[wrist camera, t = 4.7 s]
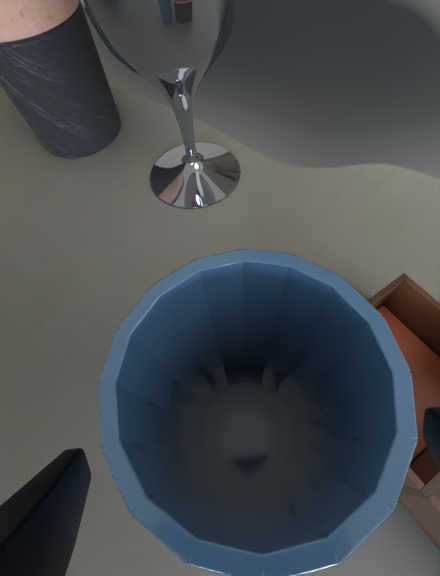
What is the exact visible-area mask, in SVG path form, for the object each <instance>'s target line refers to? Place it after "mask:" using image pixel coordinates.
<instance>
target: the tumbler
mask: <svg viewBox="0 0 440 576" xmlns="http://www.w3.org/2000/svg"><path fill="white" fill-rule="evenodd" d="M98 389H99V415H100V441H101V448H102V453H103V455H104V458H105V460H106V462H107V464H108V466H109V469H110V471H111V473H112V475H113V477H114V480H115V482H116V484H117V486H118V488H119V491H120V493H121V495H122V497H123V499H124V502H125V504H126V506H127V508H128V510H129V512H130V513H132V516H133V517H134V518H135V519H136V520H137V521H138V522H139V523H141V524H142V525H143V526H144V527H145V528H146V529H147V530H148V531H150V532H151V533H152V534H153V535H154V536H155V537H156V538H158V539H159V540H160V541H161V542H162V543H163V544H164V545H166V546H167V547H168V548H169V549H170V550H171V551H172V552H174V553H175V554H176V555H177V556H178V557H179V558H180V559H182V560H183V561H184V562H185V563H187V564H188V563H189V565H190V566H193V567H197V568H201V569H205V570H209V571H213V572H217V573H220V574H224V575H228V576H298V575H302V574H306V573H309V572H313V571H317V570H320V569H324V568H328V567H332V566H335V565H338V564H339V562H340V563H341V562H343V561H344V560H345V559H346V558H347V557H348V556H349V555H350V554H351V553H352V552H353V551H354V550H355V549H356V548H357V547H358V546H359V545H360V544H361V543H362V542H363V541H364V540H365V539H366V538H367V537H368V536H369V535H370V534H371V533H372V532H373V531H374V530H375V529H376V528H377V527H379V526H380V525H381V524H382V523H383V522H384V521H385V520H386V519H387V518H388V517H389V516H390V515H391V514H392V513H393V511H394V510H393V509H395V508H396V505H397V502H398V499H399V496H400V493H401V490H402V487H403V484H404V481H405V478H406V475H407V472H408V469H409V466H410V463H411V460H412V457H413V454H414V451H415V448H416V445H417V439H418V434H417V424H416V414H415V403H414V393H413V383H412V374H411V373H410V368H409V366H408V364H407V362H406V360H405V358H404V356H403V354H402V352H401V350H400V349H399V347H398V345H397V343H396V341H395V339H394V337H393V335H392V333H391V331H390V329H389V327H388V325H387V323H386V321H385V319H384V317H382V315H381V313H379V312H378V311H377V310H376V309H375V308H374V307H373V306H372V305H371V304H370V303H369V302H368V301H367V300H366V299H365V298H364V297H363V296H361V295H360V294H359V293H358V292H357V291H356V290H355V289H354V288H353V287H352V286H351V285H350V284H349V283H348V282H347V281H346V280H345V279H344V278H342V277H340V276H339V275H337V274H335V273H333V272H331V271H329V270H326V269H324V268H322V267H320V266H318V265H315V264H313V263H311V262H309V261H307V260H305V259H302V258H300V257H298V256H296V255H292V254H288V253H278V252H269V251H259V250H249V249H243V250H242V249H239V250H235V251H230V252H226V253H221V254H217V255H213V256H208V257H204V258H199V259H195V260H194V261H191V262H189V263H188V264H186V265H184V266H183V267H181V268H180V269H178V270H176V271H175V272H173V273H172V274H170V275H168V276H167V277H165V278H164V279H162V280H160V281H159V282H157V283H156V284H154V285H152V286H151V287H150V288H149V289H148V290H147V292H146V293H145V294H144V295H143V297H142V298H141V299H140V300H139V302H138V303H137V304H136V305H135V307H134V308H133V309H132V310H131V312H130V313H129V314H128V315H127V317H126V318H125V319H124V320H123V322H122V323H121V324H120V325H119V327H118V329H117V330H116V333H115V336H114V339H113V342H112V345H111V348H110V351H109V354H108V357H107V360H106V363H105V366H104V369H103V372H102V374H101V377H100V380H99V386H98Z"/></svg>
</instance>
